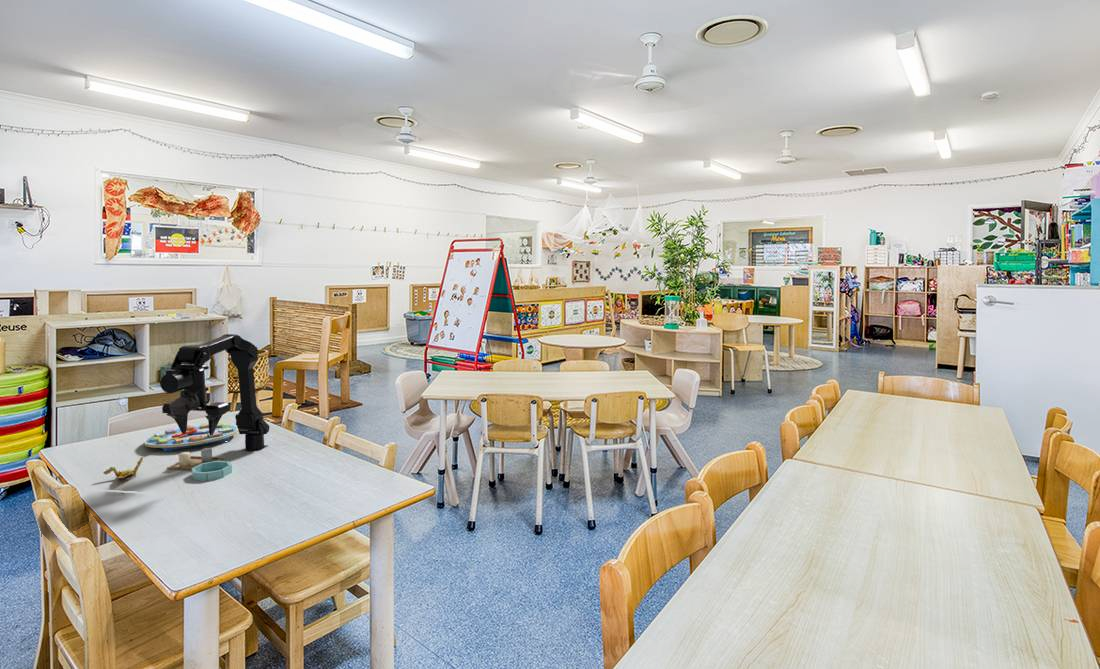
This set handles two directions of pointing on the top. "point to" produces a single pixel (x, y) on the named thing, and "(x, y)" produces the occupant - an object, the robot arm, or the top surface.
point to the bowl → (211, 470)
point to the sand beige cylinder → (184, 459)
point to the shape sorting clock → (190, 437)
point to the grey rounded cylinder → (206, 455)
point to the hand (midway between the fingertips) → (197, 434)
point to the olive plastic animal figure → (124, 473)
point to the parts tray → (192, 463)
